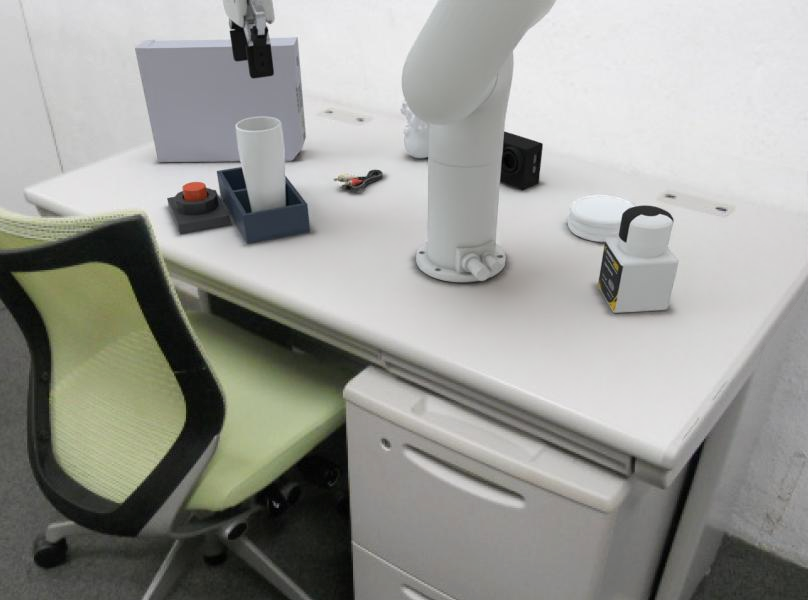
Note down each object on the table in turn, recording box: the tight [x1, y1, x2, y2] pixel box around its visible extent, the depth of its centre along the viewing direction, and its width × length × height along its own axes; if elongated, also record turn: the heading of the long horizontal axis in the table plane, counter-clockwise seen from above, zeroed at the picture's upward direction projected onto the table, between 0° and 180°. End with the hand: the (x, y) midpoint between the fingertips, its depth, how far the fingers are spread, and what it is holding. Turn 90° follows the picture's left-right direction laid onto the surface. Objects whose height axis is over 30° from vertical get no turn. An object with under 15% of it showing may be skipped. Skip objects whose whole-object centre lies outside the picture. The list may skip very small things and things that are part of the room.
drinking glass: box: [235, 116, 286, 212], centre depth 116 cm, size 7×7×15 cm
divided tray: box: [216, 166, 311, 245], centre depth 123 cm, size 19×10×5 cm, turn 21°
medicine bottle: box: [597, 204, 679, 314], centre depth 98 cm, size 7×7×12 cm
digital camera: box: [500, 130, 544, 191], centre depth 131 cm, size 10×5×7 cm, turn 42°
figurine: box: [399, 99, 430, 159], centre depth 139 cm, size 7×7×12 cm
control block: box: [166, 187, 232, 235], centre depth 124 cm, size 11×8×4 cm
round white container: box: [567, 194, 636, 243], centre depth 116 cm, size 10×10×4 cm
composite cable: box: [332, 169, 383, 193], centre depth 132 cm, size 10×5×2 cm, turn 130°
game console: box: [134, 36, 307, 163], centre depth 139 cm, size 6×27×20 cm, turn 88°
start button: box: [181, 181, 207, 201], centre depth 122 cm, size 4×4×2 cm
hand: (253, 68), depth 107 cm, fingers open, 9 cm apart
